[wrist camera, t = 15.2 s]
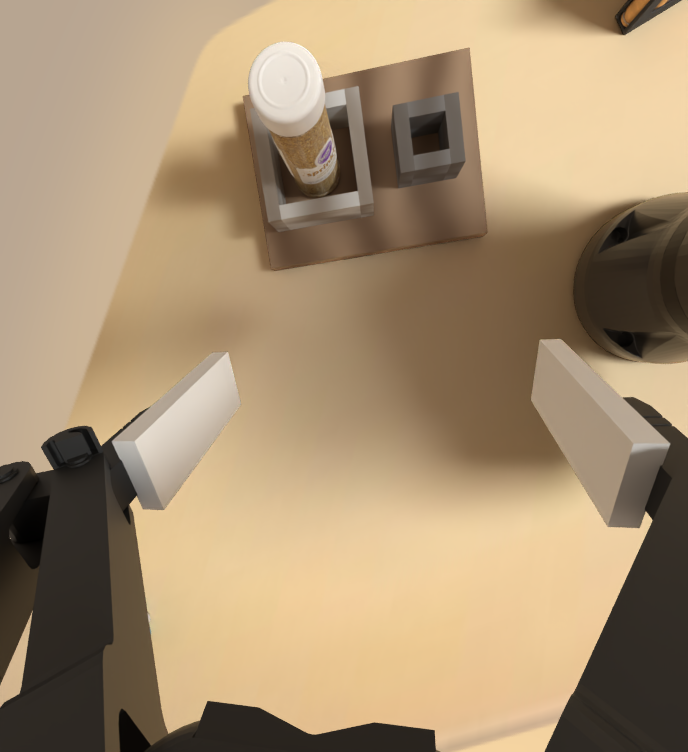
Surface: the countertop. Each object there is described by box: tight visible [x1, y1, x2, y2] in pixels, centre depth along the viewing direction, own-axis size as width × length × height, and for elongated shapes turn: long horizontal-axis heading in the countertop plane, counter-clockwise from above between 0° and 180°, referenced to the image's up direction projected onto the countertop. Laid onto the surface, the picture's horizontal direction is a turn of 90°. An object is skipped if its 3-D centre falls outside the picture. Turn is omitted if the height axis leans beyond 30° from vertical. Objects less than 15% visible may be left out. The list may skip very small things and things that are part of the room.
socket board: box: [243, 48, 487, 271], centre depth 34 cm, size 21×16×5 cm
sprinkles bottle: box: [248, 42, 340, 198], centre depth 29 cm, size 5×5×14 cm
